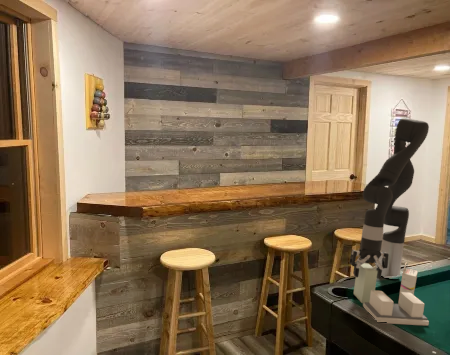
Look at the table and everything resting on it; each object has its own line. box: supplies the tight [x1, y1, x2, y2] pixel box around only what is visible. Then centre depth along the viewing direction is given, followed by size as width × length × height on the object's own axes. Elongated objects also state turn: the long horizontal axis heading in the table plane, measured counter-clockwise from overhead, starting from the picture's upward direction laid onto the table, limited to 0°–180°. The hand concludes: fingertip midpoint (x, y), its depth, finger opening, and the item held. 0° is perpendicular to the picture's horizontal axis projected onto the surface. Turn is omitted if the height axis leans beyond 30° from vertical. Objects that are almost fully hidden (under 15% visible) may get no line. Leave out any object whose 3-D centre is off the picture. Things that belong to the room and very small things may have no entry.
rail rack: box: [362, 289, 430, 326], centre depth 133 cm, size 12×18×7 cm, turn 92°
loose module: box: [353, 262, 378, 304], centre depth 145 cm, size 8×4×13 cm, turn 2°
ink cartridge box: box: [398, 261, 418, 297], centre depth 147 cm, size 9×5×15 cm, turn 149°
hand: (366, 277), depth 144 cm, fingers open, 8 cm apart
